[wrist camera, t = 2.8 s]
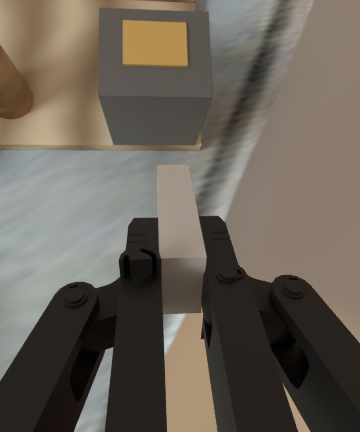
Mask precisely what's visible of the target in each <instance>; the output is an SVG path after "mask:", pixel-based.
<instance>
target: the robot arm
mask: <svg viewBox="0 0 360 432" xmlns="http://www.w3.org/2000/svg"><path fill="white" fill-rule="evenodd" d="M157 206H158V218H134V219H133V220H132V222H131V223H130V224H129V226H128V236H127V245H126V250H125V251H124V252H123V253H122V254H121V256H120V258H119V268H120V277H119V278H118V279H117V280H116V281H114V282H113V283H111V284H108V285H106V286H103V287H99V288H94V287H93V286H92V285H91V284H89V283H86V282H74V283H71V284H67V285H66V286H64V287H62V288H61V289H60V290H59V291H58V292H57V293H56V294H55V295H54V297H53V298H52V300H51V302H50V303H49V305H48V306H47V308H46V309H45V311H44V313H43V314H42V316H41V317H40V319H39V321H38V322H37V324H36V325H35V327H34V329H33V330H32V332H31V333H30V335H29V336H28V338H27V340H26V341H25V343H24V344H23V346H22V348H21V349H20V351H19V352H18V354H17V356H16V357H15V359H14V360H13V362H12V364H11V365H10V367H9V368H8V370H7V371H6V373H5V375H4V376H3V378H2V379H1V381H0V432H74V430H75V427H76V424H77V422H78V419H79V417H80V414H81V412H82V409H83V407H84V404H85V402H86V399H87V396H88V394H89V391H90V389H91V386H92V384H93V381H94V379H95V376H96V373H97V371H98V368H99V366H100V363H101V361H102V358H103V356H104V353H105V350H106V349H109V348H112V347H114V348H113V358H112V368H111V377H110V387H109V397H108V406H107V416H106V426H105V432H167V421H166V420H167V419H166V391H165V363H164V335H163V314H179V313H201V307H202V310H203V324H202V334H201V339H204V340H205V347H206V354H207V361H208V368H209V375H210V382H211V389H212V396H213V403H214V409H215V417H216V423H217V430H218V432H298V430H297V427H296V424H295V421H294V418H293V415H292V411H291V408H290V406H289V402H288V399H287V396H286V393H285V390H284V387H283V384H284V386H285V388H286V390H287V391H288V393H289V395H290V396H291V398H292V400H293V402H294V404H295V405H296V407H297V409H298V411H299V412H300V414H301V416H302V417H303V419H304V421H305V423H306V424H307V426H308V428H309V430H310V431H311V432H360V343H359V342H358V341H357V339H356V338H355V337H354V336H353V335H352V334H351V332H350V331H349V330H348V329H347V328H346V327H345V325H344V324H343V323H342V322H341V321H340V319H339V318H338V317H337V316H336V315H335V314H334V312H333V311H332V310H331V309H330V308H329V307H328V306H327V304H326V303H325V302H324V301H323V299H322V298H321V297H320V296H319V295H318V294H317V292H316V291H315V290H314V289H313V288H312V286H311V285H310V284H308V283H307V282H306V281H305V280H303V279H301V278H299V277H297V276H292V275H281V276H279V277H277V278H275V280H274V281H273V282H272V283H270V282H266V281H261V280H257V279H254V278H252V277H250V276H248V275H247V274H246V272H245V270H244V269H243V268H241V267H240V266H239V265H238V262H237V259H236V256H235V252H234V249H233V246H232V243H231V240H230V236H229V233H228V230H227V227H226V223H225V222H224V221H223V220H222V219H221V218H220V217H219V216H198V211H197V206H196V201H195V196H194V191H193V186H192V181H191V176H190V171H189V166H188V165H157ZM282 383H283V384H282Z"/></svg>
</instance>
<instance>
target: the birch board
mask: <svg viewBox="0 0 360 432" xmlns="http://www.w3.org/2000/svg"><path fill="white" fill-rule="evenodd" d="M99 8H123V9H147V10H172V11H196V0H0V44H1V46H2V47H3V49H4V50H5V52H6V53H7V55H8V56H9V58H10V59H11V61H12V62H13V64H14V65H15V67H16V68H17V70H18V71H19V73H20V74H21V76H22V77H23V79H24V80H25V82H26V83H27V85H28V86H29V87H30V89H31V91H32V93H33V97H34V100H33V105H32V107H31V109H30V110H29V112H28V113H27V114H25V115H24V116H22V117H20V118H17V119H4V118H1V117H0V150H185V151H199V150H200V148H201V131H200V134H199V137H198V140H197V143H196V146H187V145H113V142H112V139H111V136H110V132H109V129H108V126H107V123H106V120H105V116H104V113H103V110H102V107H101V104H100V101H99V97H98V52H99Z"/></svg>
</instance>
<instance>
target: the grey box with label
mask: <svg viewBox="0 0 360 432" xmlns="http://www.w3.org/2000/svg"><path fill="white" fill-rule="evenodd" d="M98 97H99V101H100V104H101V107H102V110H103V113H104V116H105V120H106V123H107V126H108V129H109V132H110V136H111V139H112V142H113V145H187V146H196V143H197V140H198V137H199V134H200V131H201V129H202V126H203V123H204V120H205V117H206V114H207V111H208V108H209V106H210V103H211V100H212V80H211V58H210V36H209V15H208V12H196V11H172V10H147V9H123V8H99V52H98Z"/></svg>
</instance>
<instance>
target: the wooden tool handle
mask: <svg viewBox="0 0 360 432" xmlns="http://www.w3.org/2000/svg"><path fill="white" fill-rule="evenodd" d="M33 100H34V97H33V93H32V91H31V89H30V87H29V86H28V85H27V83H26V82H25V80H24V79H23V77H22V76H21V74H20V73H19V71H18V70H17V68H16V67H15V65H14V64H13V62H12V61H11V59H10V58H9V56H8V55H7V53H6V52H5V50H4V49H3V47H2V46H1V44H0V117H1V118H4V119H17V118H20V117H22V116H24V115H25V114H27V113H28V112H29V110H30V109H31V107H32V105H33Z"/></svg>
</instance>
